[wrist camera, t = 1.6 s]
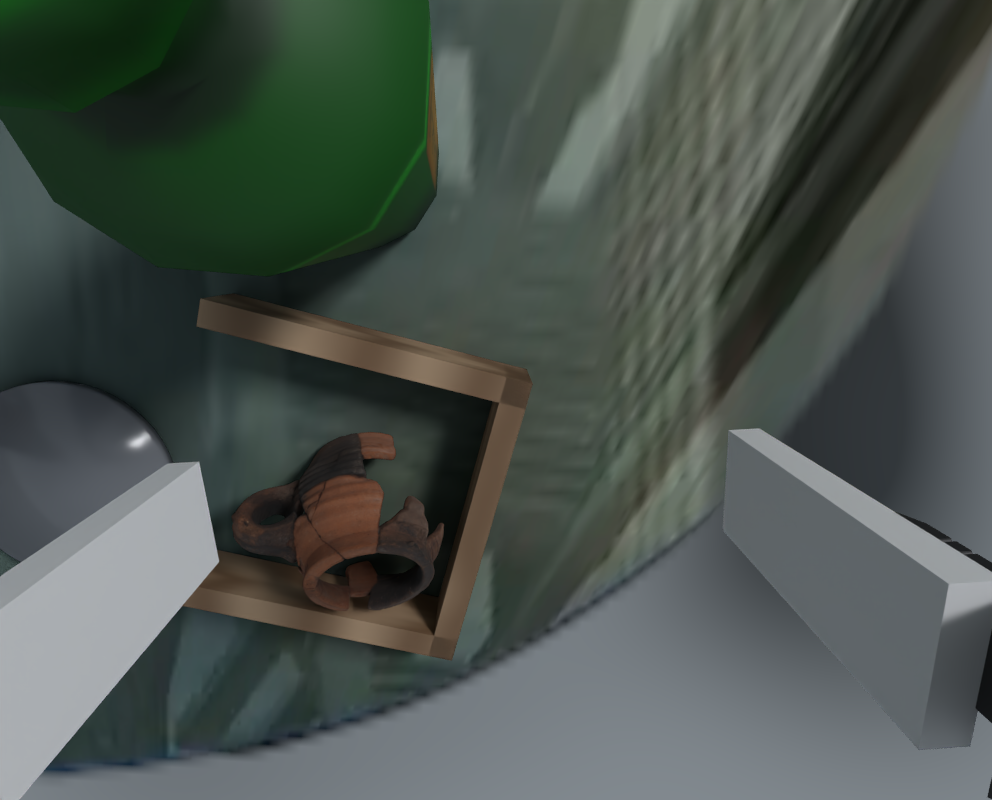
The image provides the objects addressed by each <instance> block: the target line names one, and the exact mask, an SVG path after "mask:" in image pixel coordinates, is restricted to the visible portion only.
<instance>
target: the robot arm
mask: <svg viewBox="0 0 992 800" xmlns="http://www.w3.org/2000/svg"><path fill="white" fill-rule="evenodd" d="M723 531H724V532H725V533H726V534H727V535H728V537H729V538H730V539H731V540H732V541H733V542H734V543H735V544H736V545H737V547H738V548H739V549H740V550H741V551H742V552H743V553H744V555H745V556H746V557H747V558H748V559H749V560H750V561H751V562H752V563H753V565H754V566H755V567H756V568H757V569H758V570H759V571H760V572H761V574H762V575H763V576H764V577H765V578H766V579H767V580H768V581H769V583H771V585H772V586H773V587H774V588H775V589H776V590H777V592H778V593H779V594H780V595H781V596H782V597H783V598H784V599H785V601H786V602H788V604H789V605H790V606H791V607H792V608H793V610H795V612H796V613H797V614H798V615H799V616H800V617H801V618H802V620H803V621H804V622H805V623H806V624H807V625H808V626H809V627H810V629H812V631H813V632H814V633H815V634H816V635H817V636H818V638H819V639H820V640H821V641H822V642H823V643H824V644H825V645H826V646H827V648H828V649H829V650H830V651H831V652H832V653H833V654H834V655H835V657H836V658H837V659H838V660H839V661H840V662H841V663H842V664H843V666H844V667H845V668H846V669H847V670H848V671H849V672H850V673H851V675H852V676H853V677H854V678H855V679H856V680H857V681H858V682H859V684H861V686H862V687H863V688H864V689H865V690H866V691H867V693H868V694H869V695H870V696H871V697H872V698H873V699H874V700H875V701H876V702H877V704H878V705H879V706H880V707H881V708H882V709H883V710H884V712H885V713H886V714H887V715H888V716H889V717H890V718H891V719H892V721H893V722H894V723H895V724H896V725H897V726H898V727H899V728H900V729H901V731H902V732H903V733H904V734H905V735H906V736H907V737H908V738H909V740H910V741H911V742H912V743H913V744H914V745H915V746H916V747H917V748H918V750H923V749H924V750H925V749H939V748H952V747H967V746H970V745H971V740H972V735H973V731H974V725H975V721H976V716H977V712H978V711H979V712H980V713H981V714H982V715H983V716H985V717H986V718H987V719H988V720H989V721H990V722H991V723H992V563H991V562H990V561H988V560H986V559H985V558H983V557H981V556H980V555H978V554H972V551H971V550H970V549H968V548H966V547H965V546H963V545H961V544H959V543H958V542H955V541H953V542H952V540H951V538H950V537H948V536H946V535H945V534H943V533H941V532H940V531H938V530H936V529H935V528H933V527H931V526H930V525H928V524H926V523H924V522H921V521H918V520H916V519H913V518H910V517H908V516H905V515H902V514H900V513H897V512H894V511H892V510H890V509H889V508H887V507H886V506H884V505H882V504H881V503H879V502H877V501H876V500H874V499H873V498H871V497H869V496H868V495H866V494H864V493H863V492H861V491H860V490H858V489H856V488H855V487H853V486H851V485H850V484H848V483H847V482H845V481H843V480H842V479H840V478H839V477H837V476H835V475H834V474H832V473H830V472H829V471H827V470H825V469H824V468H822V467H821V466H819V465H817V464H816V463H814V462H813V461H811V460H809V459H807V458H806V457H804V456H803V455H801V454H800V453H798V452H796V451H795V450H793V449H791V448H790V447H788V446H786V445H785V444H783V443H782V442H780V441H779V440H777V439H775V438H774V437H772V436H770V435H769V434H767V433H766V432H764V431H762V430H761V429H742V430H729V435H728V451H727V467H726V484H725V500H724V517H723ZM218 563H219V558H218V553H217V548H216V544H215V539H214V534H213V529H212V524H211V519H210V514H209V509H208V504H207V499H206V494H205V489H204V484H203V479H202V474H201V469H200V464H199V462H186V463H169V464H166V465H165V466H163V467H162V468H160V469H159V470H157V471H156V472H154V473H153V474H151V475H150V476H148V477H147V478H145V479H144V480H142V481H141V482H139V483H138V484H136V485H135V486H133V487H132V488H131V489H129V490H128V491H126V492H125V493H123V494H122V495H120V496H119V497H117V498H116V499H114V500H113V501H111V502H110V503H108V504H107V505H105V506H104V507H102V508H101V509H99V510H98V511H96V512H95V513H93V514H92V515H91V516H89V517H88V518H86V519H85V520H83V521H82V522H80V523H79V524H77V525H76V526H74V527H73V528H71V529H70V530H68V531H67V532H65V533H64V534H62V535H61V536H59V537H58V538H56V539H55V540H53V541H52V542H50V543H49V544H48V545H46V546H45V547H43V548H42V549H40V550H39V551H37V552H36V553H34V554H33V555H31V556H30V557H28V558H27V559H25V560H24V561H22V562H21V563H19V564H18V565H16V566H15V567H13V568H12V569H10V570H9V571H7V572H6V573H5V574H3V575H2V576H0V800H19V799H20V798H21V797H22V796H23V795H24V793H25V792H26V791H27V790H28V789H29V788H30V786H31V785H32V784H33V783H34V782H35V780H36V779H37V778H38V777H39V776H40V774H41V773H42V772H43V771H44V770H45V769H46V767H47V766H48V765H49V764H50V763H51V761H52V760H53V759H54V758H55V757H56V755H57V754H58V753H59V752H60V751H61V749H62V748H63V747H64V746H65V745H66V744H67V742H68V741H69V740H70V739H71V738H72V736H73V735H74V734H75V733H76V732H77V730H78V729H79V728H80V727H81V726H82V724H83V723H84V722H85V721H86V720H87V719H88V717H89V716H90V715H91V714H92V713H93V711H94V710H95V709H96V708H97V707H98V705H99V704H100V703H101V702H102V701H103V699H104V698H105V697H106V696H107V695H108V694H109V692H110V691H111V690H112V689H113V688H114V686H115V685H116V684H117V683H118V682H119V680H120V679H121V678H122V677H123V676H124V674H125V673H126V672H127V671H128V670H129V669H130V667H131V666H132V665H133V664H134V663H135V661H136V660H137V659H138V658H139V657H140V655H141V654H142V653H143V652H144V651H145V649H146V648H147V647H148V646H149V645H150V644H151V642H152V641H153V640H154V639H155V638H156V636H157V635H158V634H159V633H160V632H161V630H162V629H163V628H164V627H165V626H166V624H167V623H168V622H169V621H170V620H171V619H172V617H173V616H174V615H175V614H176V613H177V611H178V610H179V609H180V608H181V607H182V605H183V604H184V603H185V602H186V601H187V599H188V598H189V597H190V596H191V595H192V594H193V592H194V591H195V590H196V589H197V588H198V586H199V585H200V584H201V583H202V582H203V580H204V579H205V578H206V577H207V576H208V574H209V573H210V572H211V571H212V570H213V569H214V567H215V566H216V565H217V564H218ZM988 798H991V799H992V780H991V784H990V788H989V793H988Z"/></svg>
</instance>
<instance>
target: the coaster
mask: <svg viewBox="0 0 992 800" xmlns="http://www.w3.org/2000/svg"><path fill="white" fill-rule="evenodd" d="M169 463H173V461H172V458H171V456H170V453H169V451H168V449H167V448H166V446H165V444H164V442H163V441H162V439H161V438H160V436H159V435H158V433H157V432H156V431H155V429H154V428H153V427H152V426H151V425H150V424H149V423H148V421H147V420H146V419H145V418H143V417H142V416H141V415H140V414H139V413H138V412H137V411H136V410H134V409H133V408H132V407H130V406H129V405H127V404H126V403H125V402H123V401H121V400H120V399H118V398H116V397H114V396H113V395H111V394H109V393H106V392H104V391H102V390H99V389H97V388H94V387H90V386H87V385H84V384H79V383H74V382H68V381H39V382H34V383H29V384H24V385H21V386H17V387H14V388H11V389H8V390H6V391H3V392H0V549H1V550H3V551H4V552H5V553H7V554H8V555H10V556H12V557H13V558H15V559H16V560H18V561H20V562H22V561H24V560H25V559H27V558H28V557H30V556H31V555H33V554H34V553H36V552H37V551H39V550H40V549H42V548H43V547H45V546H46V545H48V544H49V543H50V542H52V541H53V540H55V539H56V538H58V537H59V536H61V535H62V534H64V533H65V532H67V531H68V530H70V529H71V528H73V527H74V526H76V525H77V524H79V523H80V522H82V521H83V520H85V519H86V518H88V517H89V516H91V515H92V514H93V513H95V512H96V511H98V510H99V509H101V508H102V507H104V506H105V505H107V504H108V503H110V502H111V501H113V500H114V499H116V498H117V497H119V496H120V495H122V494H123V493H125V492H126V491H128V490H129V489H131V488H132V487H133V486H135V485H136V484H138V483H139V482H141V481H142V480H144V479H145V478H147V477H148V476H150V475H151V474H153V473H154V472H156V471H157V470H159V469H160V468H162V467H163V466H165V465H166V464H169Z"/></svg>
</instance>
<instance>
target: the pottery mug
mask: <svg viewBox="0 0 992 800" xmlns="http://www.w3.org/2000/svg"><path fill="white" fill-rule="evenodd" d="M395 456H396V449H395V447H394V442H393V437H392V436H391V435H388V434H383V433H374V432H367V433H359V434H357V433H355V434H350V435H346V436H341V437H339V438H337V439H335V440H333V441H331V442H329V443H327V444H326V445H324V446H323V447H322V448H321V449H320V450H319V452H318V453H317V454H316V456H315V457H314V459H313V460H312V463H311V464H310V465H309V467H308V468H307V470H306V471H305V473H304V474H303V475H302V477H301V478H300V480H296V481H294V482H292V483H290V484H287V485H284V486H278V487H273V488H268V489H265V490H262V491H259V492H257V493H255V494H253V495H251V496H250V497H248V498H247V499H246V500H244V502H243V503H242V504H241V505H240V506H239V507H238V509H237V510H236V512H235V513H234V514H233V515H232V521H233V525H232V530H233V535H234V538H235V540H236V542H237V543H238V544H239V545H240V546H241V547H242V548H244V549H245V550H247V551H249V552H252V553H256V554H260V555H269V556H277V557H281V558H284V559H285V560H287V561H289V562H290V563H295V562H296V561H297V563H298V566H299V567H298V570H299V572H300V573H301V574H302V575H303V577H304V578H303V583H302V586H303V589H304V591H305V594H306V595H307V596H308V597H309V598H310V600H312V601H313V602H314V603H316V604H318V605H321V606H322V607H325V608H328V609H332V610H336V611H347V610H348V609H349V597H364V596H370V597H369V601H368V609H369V610H382V609H387V608H390V607H393V606H396V605H399V604H402V603H404V602H406V601H408V600H410V599H412V598H414V597H415V596H416V595H418V594H419V593H420V592H421V591H423V590H424V589H425V588H426V587H428V586H429V583H430V582H431V581H432V579H433V577H434V566H433V562H434V560H435V559H436V557H437V555H438V553H439V549H440V546H441V542H442V538H443V533H444V524H443V523H440V524H438V526H437V528H436V529H435V531H434V532H433V533H432V534H430V535H429V536H428V537H427V535H428V531H429V530H428V522H427V519H426V517H425V515H424V505H423V504H422V503H421V502H420V501H419V500H418V499H416V498H415V497H413V496H408V497H407V498H406V500H405V503H404V508H403V509H402V510H400V511H399V512H398V513H397V514H396V515H395V516H394V517H393V518H392V519H391V520H389V521H387V522H385V523H384V524H382V525H381V526H379V521H380V513H381V507H382V501H383V498H384V492H383V491H382V488H381V486H380V485H379V484H378V483H377V482H376V481H373V480H371V479H367V478H366V471H365V469H364V466H363V459H386V460H393V459H394V458H395ZM304 511H305V514H303V512H304ZM276 514H278V515H283V516H284V517H285V519H284V520H282V521H280V522H278V523H275V524H271V525H259V524H260V523H261V522H262V521H263V520H264V519H266V518H268V517H270V516H272V515H276ZM302 514H303V515H302ZM375 553H382V554H394V555H399V556H403V557H406V558H408V559H411V560H412V561H414V562H416V563H417V564H418V565H416V566H415V567H413V568H412V569H410V570H408V571H406V572H404V573H399V574H388V575H377V573H376V570H375V569H374V568H373V566H372V564H371V563H370V562H369V561H364V562H358V563H355V564H352V565H349V566H348V567H347V568H346V572H345V575H346V577H347V580H348V586H342V585H336V584H332V583H328V582H325V581H322V580H321V579H319V578H320V576H321V575H322V574H323V573H324V572H325V571H326V570H327V569H329V568H330V567H332V566H333V565H335V564H337V563H339V562H341V561H343V560H344V559H350V558H353V557H357V556H362V555H368V554H375Z"/></svg>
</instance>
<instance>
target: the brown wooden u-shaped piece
mask: <svg viewBox="0 0 992 800" xmlns="http://www.w3.org/2000/svg"><path fill="white" fill-rule="evenodd" d="M197 327H201V328H204V329H208V330H212V331H216V332H220V333H224V334H228V335H232V336H236V337H240V338H244V339H248V340H252V341H256V342H260V343H264V344H268V345H272V346H276V347H280V348H284V349H288V350H292V351H296V352H300V353H304V354H308V355H312V356H316V357H320V358H324V359H328V360H332V361H336V362H339V363H343V364H347V365H351V366H355V367H359V368H363V369H367V370H371V371H375V372H379V373H383V374H387V375H391V376H395V377H399V378H403V379H407V380H411V381H415V382H419V383H423V384H427V385H431V386H435V387H439V388H443V389H447V390H451V391H455V392H459V393H463V394H467V395H470V396H474V397H478V398H482V399H486V400H490V401H493V402H492V406H491V409H490V413H489V416H488V420H487V424H486V427H485V431H484V435H483V438H482V442H481V445H480V449H479V453H478V456H477V460H476V464H475V467H474V471H473V474H472V478H471V482H470V485H469V489H468V492H467V496H466V500H465V503H464V507H463V511H462V514H461V518H460V521H459V525H458V529H457V532H456V536H455V540H454V543H453V547H452V550H451V554H450V558H449V561H448V565H447V569H446V572H445V576H444V579H443V583H442V587H441V590H440V594H439V597H435V596H430V595H426V594H421V593H419V594H418V595H416V596H415V597H414V598H412V599H410V600H408V601H406V602H404V603H402V604H399V605H396V606H393V607H390V608H387V609H382V610H369V609H368V601H369V597H370V596H364V597H349V609H348V610H347V611H336V610H332V609H328V608H325V607H322V606H321V605H318V604H316V603H314V602H313V601H312V600H310V598H309V597H308V596H307V595H306V594H305V591H304V589H303V586H302V583H303V578H304V577H303V575H302V574H301V573H300V572H299V570H298V567H295V566H290V565H286V564H281V563H276V562H272V561H267V560H262V559H258V558H253V557H248V556H244V555H239V554H234V553H230V552H225V551H220V550H217V553H218V558H219V563H218V564H217V565H216V566H215V567H214V569H213V570H212V571H211V572H210V573H209V574H208V576H207V577H206V578H205V579H204V580H203V582H202V583H201V584H200V585H199V586H198V588H197V589H196V590H195V591H194V592H193V594H192V595H191V596H190V597H189V598H188V599H187V601H186V602H185V603H184V604H183V605H182V606H186V607H191V608H196V609H201V610H206V611H210V612H215V613H220V614H225V615H230V616H235V617H240V618H245V619H250V620H255V621H260V622H265V623H269V624H274V625H279V626H284V627H289V628H294V629H299V630H304V631H309V632H314V633H319V634H324V635H328V636H333V637H338V638H343V639H348V640H353V641H358V642H363V643H368V644H373V645H378V646H383V647H387V648H392V649H397V650H402V651H407V652H412V653H417V654H422V655H427V656H432V657H437V658H442V659H447V660H451V661H452V658H453V655H454V651H455V648H456V645H457V641H458V638H459V634H460V631H461V627H462V624H463V621H464V617H465V614H466V610H467V607H468V604H469V600H470V597H471V593H472V590H473V586H474V583H475V580H476V576H477V573H478V569H479V566H480V562H481V559H482V556H483V552H484V549H485V545H486V542H487V539H488V535H489V532H490V528H491V525H492V521H493V518H494V515H495V511H496V508H497V504H498V501H499V497H500V494H501V491H502V487H503V484H504V480H505V477H506V474H507V470H508V467H509V463H510V460H511V456H512V453H513V450H514V446H515V443H516V439H517V436H518V432H519V429H520V426H521V422H522V419H523V415H524V412H525V409H526V405H527V402H528V398H529V395H530V391H531V388H532V385H533V383H532V381H531V379H530V376H529V374H528V372H527V369H523V368H519V367H515V366H512V365H508V364H504V363H500V362H496V361H492V360H488V359H485V358H481V357H477V356H473V355H469V354H465V353H461V352H458V351H454V350H450V349H446V348H442V347H438V346H434V345H431V344H427V343H423V342H419V341H415V340H411V339H407V338H404V337H400V336H396V335H392V334H388V333H384V332H380V331H377V330H373V329H369V328H365V327H361V326H357V325H353V324H350V323H346V322H342V321H338V320H334V319H330V318H326V317H323V316H319V315H315V314H311V313H307V312H303V311H299V310H296V309H292V308H288V307H284V306H280V305H276V304H272V303H269V302H265V301H261V300H257V299H253V298H249V297H245V296H242V295H238V294H234V293H233V294H226V295H220V296H213V297H207V298H201V299H200V305H199V312H198V319H197ZM319 579H321V580H322V581H325V582H328V583H332V584H336V585H342V586H348V580H347V578H346V577H342V576H337V575H332V574H328V573H323V574H322V575H321V576H320V578H319Z"/></svg>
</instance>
